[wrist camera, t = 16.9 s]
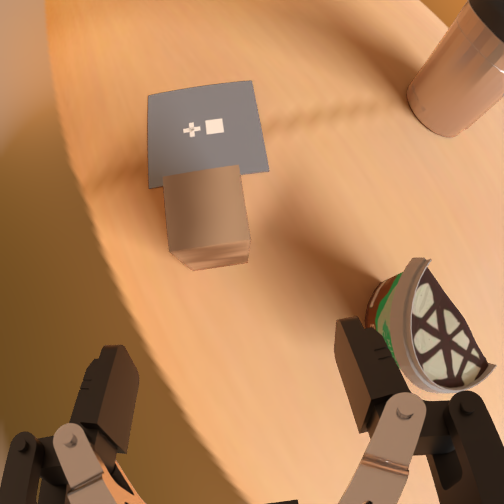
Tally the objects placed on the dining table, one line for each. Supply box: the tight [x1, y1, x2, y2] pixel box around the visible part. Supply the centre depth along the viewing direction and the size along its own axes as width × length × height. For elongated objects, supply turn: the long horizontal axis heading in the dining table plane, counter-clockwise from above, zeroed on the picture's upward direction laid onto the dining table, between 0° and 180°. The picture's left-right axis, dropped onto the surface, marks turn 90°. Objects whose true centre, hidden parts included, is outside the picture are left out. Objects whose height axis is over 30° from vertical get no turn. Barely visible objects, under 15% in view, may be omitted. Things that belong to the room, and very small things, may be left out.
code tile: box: [148, 81, 269, 189], centre depth 31 cm, size 12×12×1 cm
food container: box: [365, 258, 497, 393], centre depth 23 cm, size 12×6×10 cm, turn 39°
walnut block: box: [163, 165, 251, 271], centre depth 24 cm, size 5×5×10 cm
